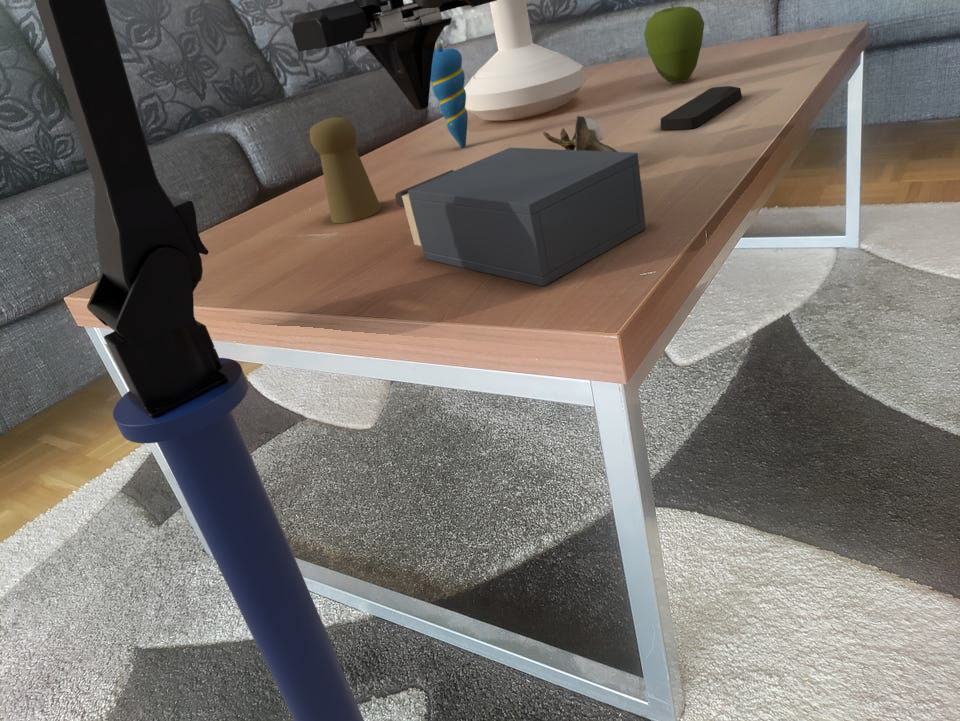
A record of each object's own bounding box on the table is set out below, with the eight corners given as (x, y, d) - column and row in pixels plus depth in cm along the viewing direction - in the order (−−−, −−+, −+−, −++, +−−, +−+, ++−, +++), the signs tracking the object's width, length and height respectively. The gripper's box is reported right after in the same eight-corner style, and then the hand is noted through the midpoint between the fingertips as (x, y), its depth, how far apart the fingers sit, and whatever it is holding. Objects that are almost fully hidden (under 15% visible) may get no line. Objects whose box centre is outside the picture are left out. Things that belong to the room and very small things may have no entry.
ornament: (487, 142, 109) (464, 31, 102) (462, 153, 106) (437, 40, 99) (462, 142, 112) (438, 35, 105) (437, 153, 109) (412, 43, 102)
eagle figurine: (532, 167, 86) (565, 164, 78) (550, 105, 85) (585, 95, 77) (589, 187, 89) (627, 187, 80) (607, 127, 88) (647, 120, 79)
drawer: (386, 239, 75) (373, 192, 72) (472, 200, 80) (462, 155, 78) (518, 267, 60) (507, 209, 58) (611, 217, 66) (603, 163, 64)
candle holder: (563, 121, 111) (540, -24, 102) (446, 134, 120) (416, 4, 111) (604, 89, 126) (588, -38, 117) (497, 104, 135) (474, -13, 126)
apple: (639, 90, 119) (631, 12, 114) (670, 77, 123) (664, 1, 118) (686, 88, 113) (680, 5, 107) (717, 74, 117) (713, -7, 112)
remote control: (695, 133, 91) (744, 96, 100) (694, 118, 90) (743, 82, 99) (658, 134, 94) (709, 98, 103) (656, 120, 93) (707, 85, 102)
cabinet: (425, 259, 70) (407, 190, 67) (522, 212, 76) (510, 147, 73) (543, 286, 58) (528, 204, 55) (646, 228, 65) (637, 152, 62)
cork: (348, 225, 85) (318, 127, 80) (322, 220, 90) (292, 127, 85) (390, 207, 88) (364, 111, 83) (363, 203, 93) (337, 112, 88)
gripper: (331, -84, 52) (389, 140, 60) (521, -117, 62) (552, 80, 69) (262, -57, 61) (321, 137, 68) (439, -90, 70) (475, 84, 77)
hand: (421, 108), depth 70 cm, fingers closed
